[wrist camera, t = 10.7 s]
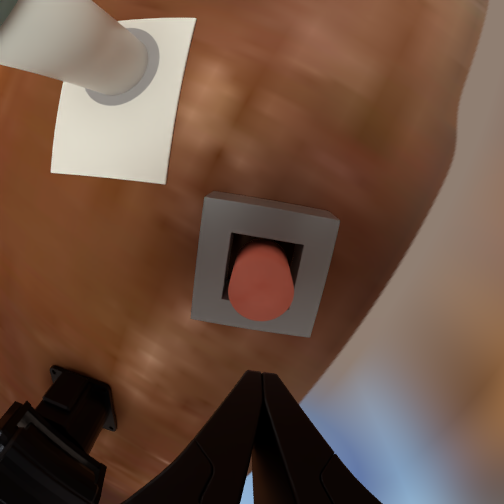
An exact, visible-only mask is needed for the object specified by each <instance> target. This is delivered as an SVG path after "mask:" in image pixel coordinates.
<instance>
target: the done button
mask: <svg viewBox="0 0 504 504" xmlns="http://www.w3.org/2000/svg"><path fill="white" fill-rule="evenodd" d="M228 295H229V300H230V302H231V304H232V306H233V308H234V309H235V310H236V311H237V312H238V313H239V314H240V315H242V316H243V317H245V318H247V319H250V320H254V321H269V320H272V319H275V318H277V317H279V316H281V315H282V314H283V313H284V312H286V310H287V309H288V308H289V307H290V305H291V303H292V301H293V297H294V285H293V281H292V277H291V272H290V268H289V264H288V259H287V256H286V253H285V251H284V250H283V248H282V247H281V246H280V245H279V244H277V243H276V242H274V241H272V240H269V239H263V238H260V239H254V240H251V241H249V242H247V243H246V244H244V245H243V246H242V247H241V249H240V250H239V252H238V254H237V256H236V260H235V264H234V267H233V271H232V275H231V279H230V283H229V287H228Z"/></svg>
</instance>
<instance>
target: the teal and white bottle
mask: <svg viewBox="0 0 504 504" xmlns="http://www.w3.org/2000/svg"><path fill="white" fill-rule="evenodd" d="M0 65H4V66H9V67H13V68H17V69H21V70H25V71H29V72H33V73H36V74H40V75H44V76H47V77H51V78H54V79H58V80H61V81H64V82H68V83H71V84H74V85H77V86H81V87H84V88H87V89H90V90H93V91H96V92H99V93H102V94H105V95H111V96H113V95H120V94H122V93H125V92H127V91H129V90H130V89H132V88H133V87H134V86H135V85H136V84H137V83H138V82H139V81H140V80H141V78H142V77H143V75H144V73H145V71H146V69H147V66H148V52H147V49H146V47H145V45H144V44H143V43H142V42H141V41H140V40H139V39H138V38H136V37H135V36H134V35H133V34H132V33H131V32H129V31H128V30H127V29H126V28H125V27H123V26H122V25H121V24H120V23H119V22H117V21H116V20H115V19H114V18H113V17H111V16H110V15H109V14H108V13H106V12H105V11H104V10H103V9H102V8H100V7H99V6H98V5H96V4H95V3H94V2H93V1H91V0H0Z"/></svg>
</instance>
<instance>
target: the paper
mask: <svg viewBox="0 0 504 504" xmlns="http://www.w3.org/2000/svg"><path fill="white" fill-rule="evenodd" d="M196 20H197V19H196V18H153V19H136V20H124V21H117V22H119V23H120V24H121V25H122V26H123V27H125V28H126V29H127V30H128V31H129V32H131V33H132V34H133V35H134V36H135V37H136V38H138V39H139V40H140V41H141V42H142V43H143V44H144V45H145V47H146V49H147V52H148V66H147V69H146V71H145V73H144V75H143V77H142V78H141V80H140V81H139V82H138V83H137V84H136V85H135V86H134V87H133V88H132V89H130V90H129V91H127V92H125V93H122V94H120V95H113V96H111V95H105V94H102V93H99V92H96V91H93V90H90V89H87V88H84V87H81V86H77V85H74V84H71V83H68V82H64V81H63V86H62V91H61V96H60V101H59V107H58V113H57V120H56V127H55V134H54V143H53V152H52V163H51V173H61V174H73V175H85V176H95V177H105V178H115V179H124V180H133V181H141V182H150V183H158V184H166V180H167V172H168V165H169V157H170V150H171V144H172V137H173V131H174V125H175V119H176V113H177V107H178V102H179V96H180V91H181V86H182V81H183V76H184V71H185V67H186V62H187V57H188V53H189V49H190V44H191V40H192V36H193V32H194V28H195V24H196Z"/></svg>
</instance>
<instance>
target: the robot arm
mask: <svg viewBox="0 0 504 504" xmlns="http://www.w3.org/2000/svg"><path fill="white" fill-rule="evenodd" d="M50 373H51V377H52V381H53V384H52V386H51V387H50V388H49V389H48V391H47V392H46V393H45V395H44V396H43V400H42V401H41V402H40V403H39V405H38V406H37V407H36V409H34V408H33V407H32V406H31V404H30V403H29V402H28V401H26V402H25V403H24V405H23V404H22V403H18V402H16V401H15V402H14V403H13V404H12V406H11V407H10V408H9V409H8V411H7V412H6V413H5V414H4V415H3V416H2V418H1V419H0V504H98V503H99V501H100V497H101V492H102V487H103V482H104V477H105V472H106V468H107V467H106V466H105V465H104V464H102V463H99V462H98V461H96V460H95V459H94V458H92V457H91V456H89V453H90V451H91V449H92V447H93V445H94V443H95V441H96V439H97V437H98V435H99V433H100V431H101V429H102V428H104V429H107V430H110V431H116V429H117V424H116V419H115V413H114V408H113V402H112V396H111V389H110V387H109V386H108V385H107V384H105V383H101V382H98V381H95V380H92V379H89V378H87V377H84V376H81V375H78V374H75V373H72V372H70V371H67V370H64V369H62V368H59V367H57V366H54V365H53V366H52V367H51V368H50ZM17 425H18V426H19V427H18V426H17ZM251 454H252V475H253V496H254V504H382V503H381V502H380V501H379V500H378V499H377V498H376V497H375V496H374V495H372V494H371V493H370V492H369V491H368V490H367V489H366V488H365V487H364V486H363V485H362V484H361V483H360V482H359V481H358V480H357V479H356V478H355V477H354V476H353V474H352V473H351V472H350V471H349V470H348V468H347V467H346V466H345V465H344V464H343V462H342V461H341V460H340V459H339V457H338V456H337V455H336V454H334V451H333V450H332V449H331V447H330V446H329V445H328V443H327V442H326V441H325V439H324V438H323V437H322V435H321V434H320V433H319V431H318V430H317V429H316V427H315V426H314V425H313V423H312V422H311V421H310V419H309V418H308V417H307V415H306V414H305V413H304V411H303V410H302V409H301V407H300V406H299V404H298V403H297V402H296V400H295V399H294V398H293V396H292V395H291V393H290V392H289V391H288V389H287V388H286V386H285V385H284V384H283V382H282V381H281V379H280V378H279V377H278V375H277V374H274V373H266V372H263V373H262V374H261V372H259V371H252V370H247V371H246V372H245V373H244V375H243V376H242V377H241V379H240V380H239V381H238V383H237V384H236V385H235V387H234V388H233V389H232V390H231V392H230V393H229V394H228V396H227V397H226V398H225V400H224V401H223V402H222V403H221V405H220V406H219V407H218V409H217V410H216V411H215V412H214V414H213V415H212V416H211V417H210V419H209V420H208V421H207V422H206V424H205V425H204V426H203V427H202V429H201V430H200V431H199V432H198V434H197V435H196V436H195V437H194V439H193V440H192V441H191V442H190V443H189V444H188V445H187V447H186V448H185V449H184V450H183V451H182V452H181V453H180V455H179V456H178V457H177V458H176V459H175V460H174V461H173V462H172V463H171V464H170V465H169V466H168V467H166V468H165V469H164V470H163V471H162V472H161V473H160V474H159V475H157V476H156V477H155V478H154V479H152V480H151V481H150V482H149V483H147V484H146V485H145V486H144V487H142V488H141V489H140V490H138V491H137V492H136V493H135V494H133V495H132V496H131V497H129V498H128V499H127V500H125V501H124V502H122V503H121V504H240V501H241V497H242V492H243V488H244V484H245V480H246V476H247V471H248V467H249V463H250V458H251ZM333 454H334V455H333Z"/></svg>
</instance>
